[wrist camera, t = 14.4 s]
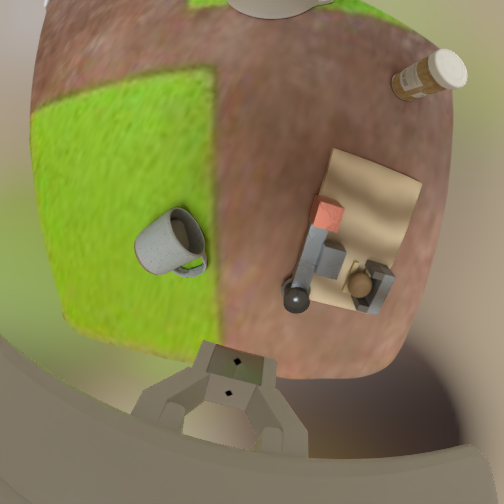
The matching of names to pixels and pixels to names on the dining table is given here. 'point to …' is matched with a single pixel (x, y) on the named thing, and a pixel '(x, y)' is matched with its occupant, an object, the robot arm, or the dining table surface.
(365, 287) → the brown ball
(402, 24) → the dining table surface
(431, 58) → the sprinkles bottle
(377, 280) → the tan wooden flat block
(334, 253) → the lever
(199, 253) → the ceramic mug
